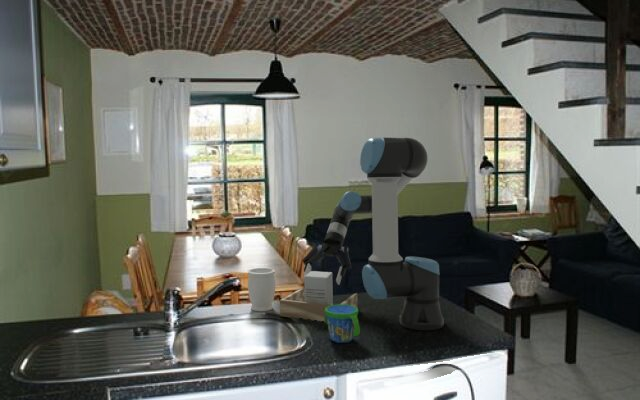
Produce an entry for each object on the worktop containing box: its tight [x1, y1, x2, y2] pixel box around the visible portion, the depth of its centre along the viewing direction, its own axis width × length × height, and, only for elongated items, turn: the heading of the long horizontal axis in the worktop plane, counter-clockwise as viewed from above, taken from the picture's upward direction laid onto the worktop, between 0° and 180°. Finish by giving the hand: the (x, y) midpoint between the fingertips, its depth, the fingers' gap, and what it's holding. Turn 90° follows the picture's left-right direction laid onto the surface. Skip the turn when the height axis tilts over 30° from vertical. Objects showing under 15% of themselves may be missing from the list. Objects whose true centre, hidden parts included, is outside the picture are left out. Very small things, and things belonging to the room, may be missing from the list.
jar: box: [247, 267, 276, 312], centre depth 199 cm, size 11×10×15 cm
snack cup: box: [324, 303, 361, 344], centre depth 165 cm, size 16×10×10 cm
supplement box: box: [303, 270, 334, 305], centre depth 193 cm, size 9×9×15 cm
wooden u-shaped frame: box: [279, 287, 358, 323], centre depth 194 cm, size 19×24×6 cm
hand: (321, 281), depth 197 cm, fingers open, 13 cm apart
